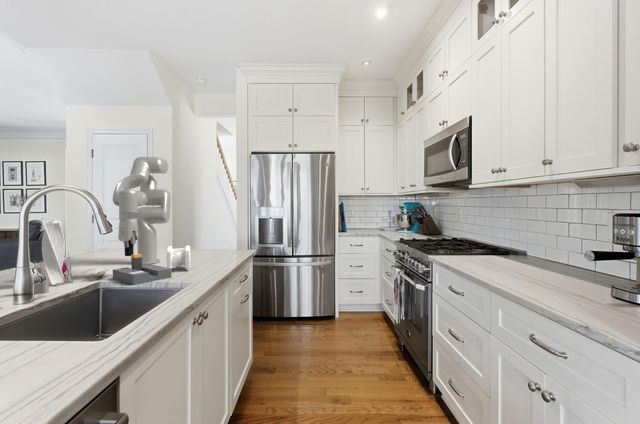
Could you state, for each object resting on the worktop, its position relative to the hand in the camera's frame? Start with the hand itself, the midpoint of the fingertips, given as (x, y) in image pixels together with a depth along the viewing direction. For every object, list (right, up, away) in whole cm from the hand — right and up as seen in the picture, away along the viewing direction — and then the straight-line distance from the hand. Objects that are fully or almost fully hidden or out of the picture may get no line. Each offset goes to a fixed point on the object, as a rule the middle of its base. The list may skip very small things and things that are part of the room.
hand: (129, 255), depth 148 cm
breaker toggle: (+5, -7, -3) cm, 9 cm away
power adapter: (-16, -10, -30) cm, 35 cm away
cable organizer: (+18, -9, +12) cm, 24 cm away
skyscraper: (-21, -10, -16) cm, 28 cm away
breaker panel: (+10, -9, -6) cm, 15 cm away
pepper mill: (-27, -10, -8) cm, 30 cm away
